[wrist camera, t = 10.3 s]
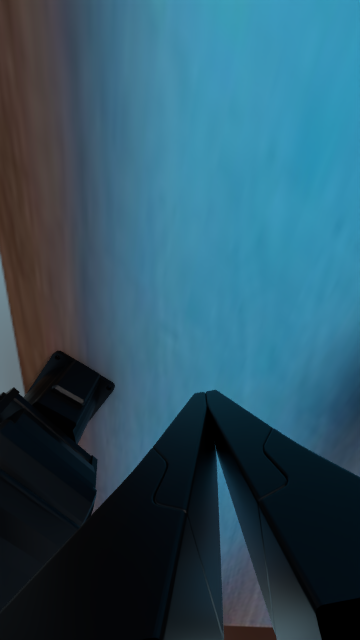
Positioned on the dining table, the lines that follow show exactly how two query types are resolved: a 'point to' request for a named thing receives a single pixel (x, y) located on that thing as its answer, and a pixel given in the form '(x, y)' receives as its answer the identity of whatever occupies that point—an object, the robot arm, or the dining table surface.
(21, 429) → the robot arm
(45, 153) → the dining table surface
